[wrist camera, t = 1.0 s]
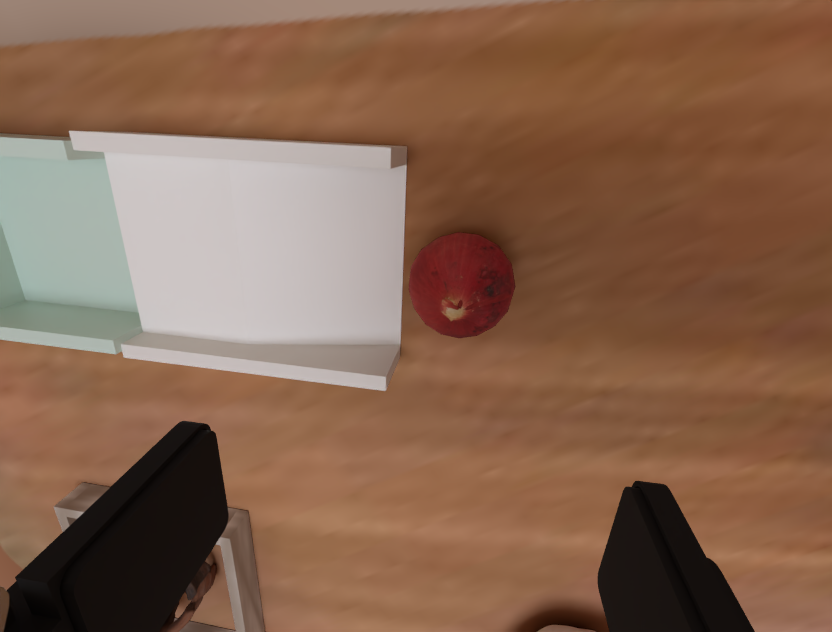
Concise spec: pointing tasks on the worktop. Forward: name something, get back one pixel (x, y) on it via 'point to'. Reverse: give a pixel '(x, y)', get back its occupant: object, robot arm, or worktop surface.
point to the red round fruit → (461, 284)
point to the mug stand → (232, 543)
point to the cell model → (563, 629)
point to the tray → (61, 248)
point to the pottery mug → (194, 592)
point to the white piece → (262, 252)
